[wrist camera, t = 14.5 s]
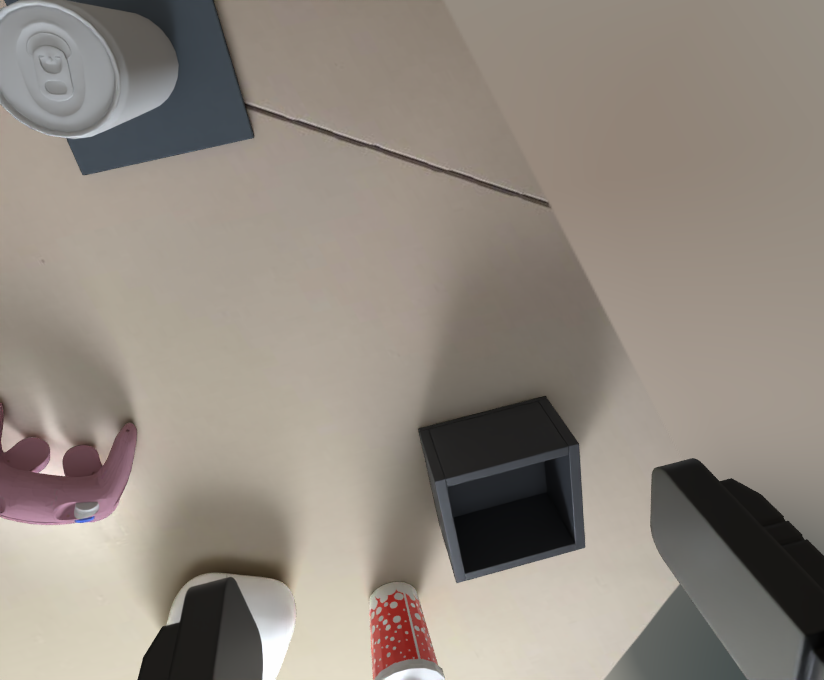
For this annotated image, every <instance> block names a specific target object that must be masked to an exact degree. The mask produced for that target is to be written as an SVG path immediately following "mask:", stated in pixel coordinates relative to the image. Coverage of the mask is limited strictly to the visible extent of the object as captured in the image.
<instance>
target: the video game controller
mask: <svg viewBox="0 0 824 680" xmlns="http://www.w3.org/2000/svg"><path fill="white" fill-rule="evenodd" d="M3 420H4V411H3V405H2V403H1V402H0V517H2V518H4V519H8V520H12V521H17V522H22V523H28V524H40V525H60V524H71V523H84V522H95V521H99V520H102V519H104V518H106V517H108V516H109V515H110V514H111V513H112V512H113V511H114V510H115V509H116V507H117V505H118V503H119V500H120V496H121V495H122V493H123V491H124V489H125V486H126V484H127V481H128V479H129V475H130V472H131V469H132V464H133V459H134V453H135V447H136V441H137V429H136V427H135V425H134V424H132V423H127V424H126V425H124V426H123V428H122V429H121V430H120V432H119V433H118V435H117V436H116V438H115V440H114V443H113V446H112V448H111V451H110V453H109V456H108V458H107V460H106V462H105V463H104V465H102V464H101V462H100V458H99V454H98V452H97V450H96V449H95V448H93V447H91V446H88V445H79V446H75V447H73V448H71V449H69V450H68V451H67V452H66V453H65V455H64V457H63V469H64V474H65V476H56V475H48V474H40V473H39V472H40V471H42V470H43V469H44V468H45V467H46V465H47V464H48V462H49V460H50V447H49V445H48V444H47V442H45V441H44V440H42V439H40V438H35V437H30V438H26V439H23V440H21V441H20V442H18V443H17V444H16V445H15V446H13V447H12V448H11V449H10V450H8V451H7V452H3V450H2V445H1V437H2V430H3Z"/></svg>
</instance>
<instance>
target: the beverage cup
mask: <svg viewBox="0 0 824 680" xmlns="http://www.w3.org/2000/svg"><path fill="white" fill-rule="evenodd" d="M369 615H370V633H371V651H372V670H373V680H445V677H444V674H443V670H442V668H440V667H439V666H438V664H437V660H436V657H435V653H434V650H433V646H432V643H431V640H430V636H429V633H428V629H427V626H426V622H425V619H424V616H423V612H422V609H421V605H420V602H419V598H418V595H417V592H416V589H415V588H414V587H413V586H412V585H410V584H407V583H404V582H391V583H388V584H384V585H382V586H381V587H379V588H378V589H376V590H375V591H374V592H373V594H372V595H371V596H370V600H369Z"/></svg>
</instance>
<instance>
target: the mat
mask: <svg viewBox="0 0 824 680" xmlns="http://www.w3.org/2000/svg"><path fill="white" fill-rule="evenodd" d="M4 1H5V3H6V5H7V6H8V5H10V4H12V3H15V2H17V1H19V0H4ZM67 1H72V2H77V3H83V4H88V5H93V6H99V7H104V8H109V9H115V10H120V11H125V12H131V13H136V14H138V15H140V16H143V17H145V18H147V19H149V20H150V21H152V22H153V23H154V24H155V25H157V26H158V27H159V28H160V29H161V30H162V31H163V32H164V33H165V35H166V36H167V37H168V38H169V40H170V42H171V44H172V46H173V48H174V49H175V51H176V55H177V60H178V64H179V67H178V78H177V81H176V84H175V87H174V89H173V91H172V93H171V94H170V96H169V97H168V99H167V100H166V101H165V102H163V103H162V104H161V105H160V106H158V107H156V108H154V109H152V110H150V111H148V112H146V113H144V114H142V115H139V116H137V117H135V118H133V119H131V120H128V121H126V122H124V123H122V124H119V125H117V126H115V127H113V128H111V129H108V130H106V131H104V132H101V133H99V134H96V135H94V136H92V137H86V138H77V139H70V138H66V139H67V141H68V143H69V146H70V148H71V150H72V152H73V155H74V157H75V159H76V161H77V164H78V166H79V168H80V170H81V172H82V175H88V174H92V173H97V172H101V171H106V170H110V169H115V168H120V167H124V166H129V165H133V164H138V163H142V162H147V161H151V160H156V159H160V158H165V157H170V156H174V155H179V154H183V153H188V152H192V151H197V150H201V149H206V148H210V147H215V146H220V145H224V144H229V143H233V142H238V141H242V140H247V139H251V138H254V134H253V130H252V127H251V124H250V120H249V117H248V114H247V110H246V107H245V104H244V100H243V97H242V94H241V90H240V87H239V84H238V80H237V77H236V74H235V70H234V67H233V64H232V60H231V57H230V54H229V50H228V47H227V44H226V40H225V37H224V34H223V30H222V27H221V24H220V20H219V17H218V14H217V10H216V7H215V4H214V0H67Z"/></svg>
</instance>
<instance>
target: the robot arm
mask: <svg viewBox="0 0 824 680" xmlns="http://www.w3.org/2000/svg"><path fill="white" fill-rule="evenodd" d="M783 517H784V516H783V515H782V514H781V513H780V512H779V511H777V509H775V508H774V507H773V506H772V505H771V504H770V503H769V502H768V501H767V500H766V499H765V498H764V497H763V496H762V495H761V494H759V493H758V492H756V491H754V490H752V489H750V488H748V487H747V486H745V485H743V484H741V483H739V482H737V481H735V480H734V479H732V478H731V479H727V480H723V481H719V480H718V479H717V478H716V477H715V476H714V475H713V474H712V473H711V472H710V471H709V470H708V469H707V468H706V467H705V466H704V465H703V464H702V463H701V462H700V461H699V460H697V459H694V458H692V459H688V460H684V461H680V462H676V463H672V464H668V465H664V466H661V467H657V468H655V469H654V470H653V472H652V484H651V519H650V526H651V532H652V536H653V540H654V543H655V545H656V548H657V550H658V552H659V554H660V555H661V557H662V559H663V560H664V562H665V563H666V564H667V566H668V567H669V569H670V570H671V571H672V573H673V574H674V576H675V577H676V579H677V580H678V581H679V583H680V584H681V586H682V587H683V588H684V590H685V591H686V593H687V594H688V596H689V597H690V598H691V600H692V601H693V603H694V604H695V606H696V607H697V608H698V610H699V611H700V612H701V614H702V615H703V617H704V618H705V620H706V621H707V623H708V624H709V626H710V627H711V628H712V630H713V631H714V633H715V634H716V635H717V637H718V638H719V639H720V641H721V643H722V644H723V645H724V647H725V648H726V650H727V651H728V652H729V654H730V655H731V657H732V658H733V660H734V661H735V662H736V664H737V665H738V667H739V668H740V670H741V671H742V672H743V674H744V675H745V677H746V678H747V680H824V556H823V555H822V554H821V553H820V552H819V551H818V550H817V549H816V548H815V547H814V546H813V545H812V544H811V543H810V542H809V541H808V540H804V538H803V537H802V534H801V533H800V532H799V531H798V530H797V529H796V528H795V527H794V526H793V525H792V524H791V523H790V522H789V521H785V520H784V518H783ZM138 680H263V648H262V641H261V637H260V633H259V630H258V627H257V625H256V623H255V621H254V618H253V616H252V614H251V612H250V610H249V608H248V606H247V603H246V601H245V599H244V597H243V595H242V593H241V591H240V588H239V586H238V584H237V582H236V580H235V579H234V578H233V577H227V578H223V579H220V580H216V581H212V582H208V583H204V584H200V585H196V586H193V587H190V588H189V589H188V590H187V592H186V595H185V599H184V604H183V608H182V613H181V618H180V622H178V623H174V624H170V625H167V626H163V627H162V628H161V630H160V631H159V633H158V634H157V636H156V638H155V639H154V641H153V642H152V644H151V646H150V647H149V649H148V651H147V652H146V654H145V655H144V657H143V661H142V664H141V668H140V672H139V676H138Z"/></svg>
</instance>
